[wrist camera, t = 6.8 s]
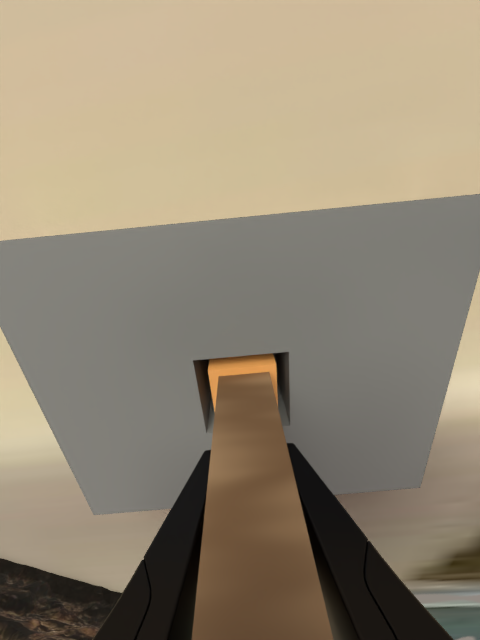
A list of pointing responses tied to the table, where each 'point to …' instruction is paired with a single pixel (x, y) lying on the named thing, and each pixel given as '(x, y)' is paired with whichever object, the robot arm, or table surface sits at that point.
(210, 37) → the table surface
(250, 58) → the table surface
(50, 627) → the stone relief
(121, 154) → the table surface
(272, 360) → the button
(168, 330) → the box
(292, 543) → the brown wooden bar
